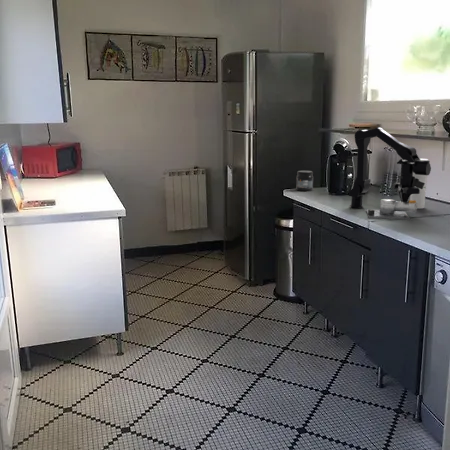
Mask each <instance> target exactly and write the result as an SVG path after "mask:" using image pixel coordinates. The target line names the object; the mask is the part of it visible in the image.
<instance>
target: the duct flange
mask: <svg viewBox="0 0 450 450" xmlns="http://www.w3.org/2000/svg"><path fill="white" fill-rule="evenodd" d="M365 212H366V214H367V216H368V219H380V218H382V219H384V220H386V219H387V220H407V219H409V220H410V216H409V215H408V214H407V212H398V211H395V214H382V213H380V209H370V208H368V209H365Z"/></svg>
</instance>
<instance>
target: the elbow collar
mask: <svg viewBox="0 0 450 450" xmlns="http://www.w3.org/2000/svg"><path fill="white" fill-rule="evenodd" d="M379 201H380V202H379V210H380V213H382V214H395V211H398V212H405V213H417V212H418V208H417V202H416V201H415V200H410V199H408V201H407V202H401V201H397V200H395V199H389V198H383V199H380V200H379Z"/></svg>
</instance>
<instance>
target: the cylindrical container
mask: <svg viewBox="0 0 450 450" xmlns="http://www.w3.org/2000/svg"><path fill="white" fill-rule="evenodd" d="M419 159H420V160H421V161H430V159H428V158H419ZM413 176H414V177H415V178H417V179H419V181H420V182H423V183H425V184H424V186H423V189H420V188H419V190H420V193H419V194H412V195H410V196H409V200H415V201H416V202H417V209H418V210H419V209H424V208H425V202H426V191H427V182H428V181H427V180H428V175H416V174H415V173H414V172H413ZM415 187H416V186H415Z"/></svg>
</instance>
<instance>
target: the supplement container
mask: <svg viewBox="0 0 450 450" xmlns="http://www.w3.org/2000/svg"><path fill="white" fill-rule="evenodd" d="M296 174H297V175H296V187H295V188H296V190H297V191H299V192H311V191H313V189H314V176H313V174H314V172H313V171H312V170H298V171H297V173H296Z"/></svg>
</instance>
